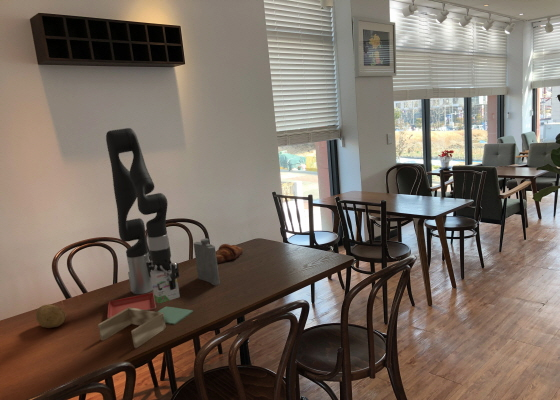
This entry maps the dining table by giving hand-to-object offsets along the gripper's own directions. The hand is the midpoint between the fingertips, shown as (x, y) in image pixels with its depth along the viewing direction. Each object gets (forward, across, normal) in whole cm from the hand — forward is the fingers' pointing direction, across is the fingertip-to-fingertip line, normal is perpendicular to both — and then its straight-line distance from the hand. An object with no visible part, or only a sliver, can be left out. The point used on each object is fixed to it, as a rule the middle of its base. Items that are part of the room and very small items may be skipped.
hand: (165, 288), depth 165 cm
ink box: (+5, 0, 0) cm, 5 cm away
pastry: (+12, -17, +66) cm, 69 cm away
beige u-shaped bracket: (+11, -3, -16) cm, 20 cm away
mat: (+11, 0, 0) cm, 11 cm away
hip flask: (+12, -7, +35) cm, 38 cm away
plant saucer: (+12, -19, -1) cm, 22 cm away
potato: (+12, -41, -21) cm, 47 cm away
